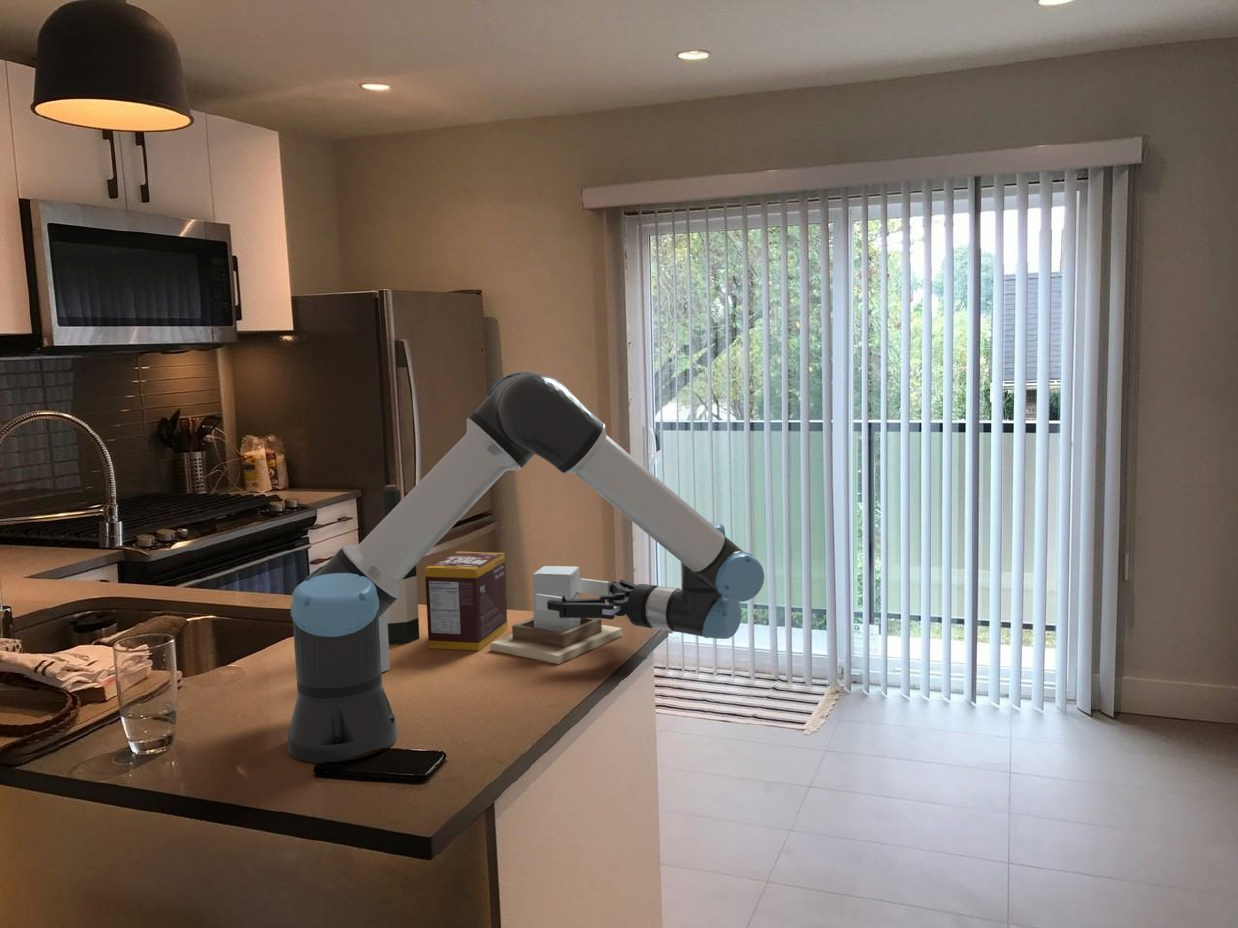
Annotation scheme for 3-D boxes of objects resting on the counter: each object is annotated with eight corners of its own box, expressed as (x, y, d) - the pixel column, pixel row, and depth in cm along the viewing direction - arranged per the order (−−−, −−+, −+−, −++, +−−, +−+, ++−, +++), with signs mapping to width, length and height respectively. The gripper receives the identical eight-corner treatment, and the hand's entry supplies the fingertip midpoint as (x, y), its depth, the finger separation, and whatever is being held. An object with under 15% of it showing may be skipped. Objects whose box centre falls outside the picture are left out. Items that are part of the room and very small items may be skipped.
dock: (558, 664, 176) (558, 642, 176) (490, 650, 185) (489, 629, 185) (622, 635, 193) (621, 615, 192) (556, 624, 202) (556, 605, 201)
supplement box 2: (571, 641, 185) (569, 574, 183) (533, 639, 186) (530, 573, 185) (582, 630, 192) (580, 565, 190) (545, 628, 193) (543, 564, 192)
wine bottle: (426, 632, 198) (419, 482, 195) (412, 644, 190) (404, 488, 187) (386, 631, 199) (378, 482, 196) (370, 644, 191) (361, 489, 188)
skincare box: (391, 670, 175) (387, 603, 174) (369, 676, 172) (365, 608, 171) (373, 662, 180) (370, 597, 178) (352, 668, 177) (348, 602, 175)
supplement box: (508, 628, 200) (505, 551, 198) (479, 651, 185) (475, 569, 183) (460, 626, 202) (457, 550, 201) (427, 648, 188) (423, 567, 186)
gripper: (616, 646, 166) (518, 628, 178) (691, 611, 187) (598, 597, 199) (615, 602, 165) (516, 587, 177) (690, 572, 186) (597, 560, 198)
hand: (559, 593), depth 188 cm, fingers open, 13 cm apart
